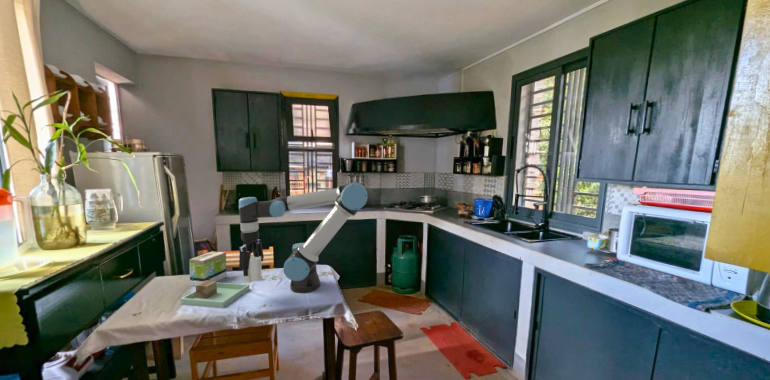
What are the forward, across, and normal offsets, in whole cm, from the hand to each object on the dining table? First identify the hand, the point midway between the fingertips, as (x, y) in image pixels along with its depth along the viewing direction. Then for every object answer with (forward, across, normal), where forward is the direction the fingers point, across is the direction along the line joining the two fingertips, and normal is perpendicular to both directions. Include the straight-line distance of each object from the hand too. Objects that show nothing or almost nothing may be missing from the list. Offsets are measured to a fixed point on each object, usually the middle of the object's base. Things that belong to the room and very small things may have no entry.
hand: (253, 278), depth 132 cm
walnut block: (+9, 0, -25) cm, 27 cm away
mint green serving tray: (+10, 0, -20) cm, 22 cm away
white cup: (+1, 0, 0) cm, 1 cm away
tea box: (+10, -16, -38) cm, 42 cm away
